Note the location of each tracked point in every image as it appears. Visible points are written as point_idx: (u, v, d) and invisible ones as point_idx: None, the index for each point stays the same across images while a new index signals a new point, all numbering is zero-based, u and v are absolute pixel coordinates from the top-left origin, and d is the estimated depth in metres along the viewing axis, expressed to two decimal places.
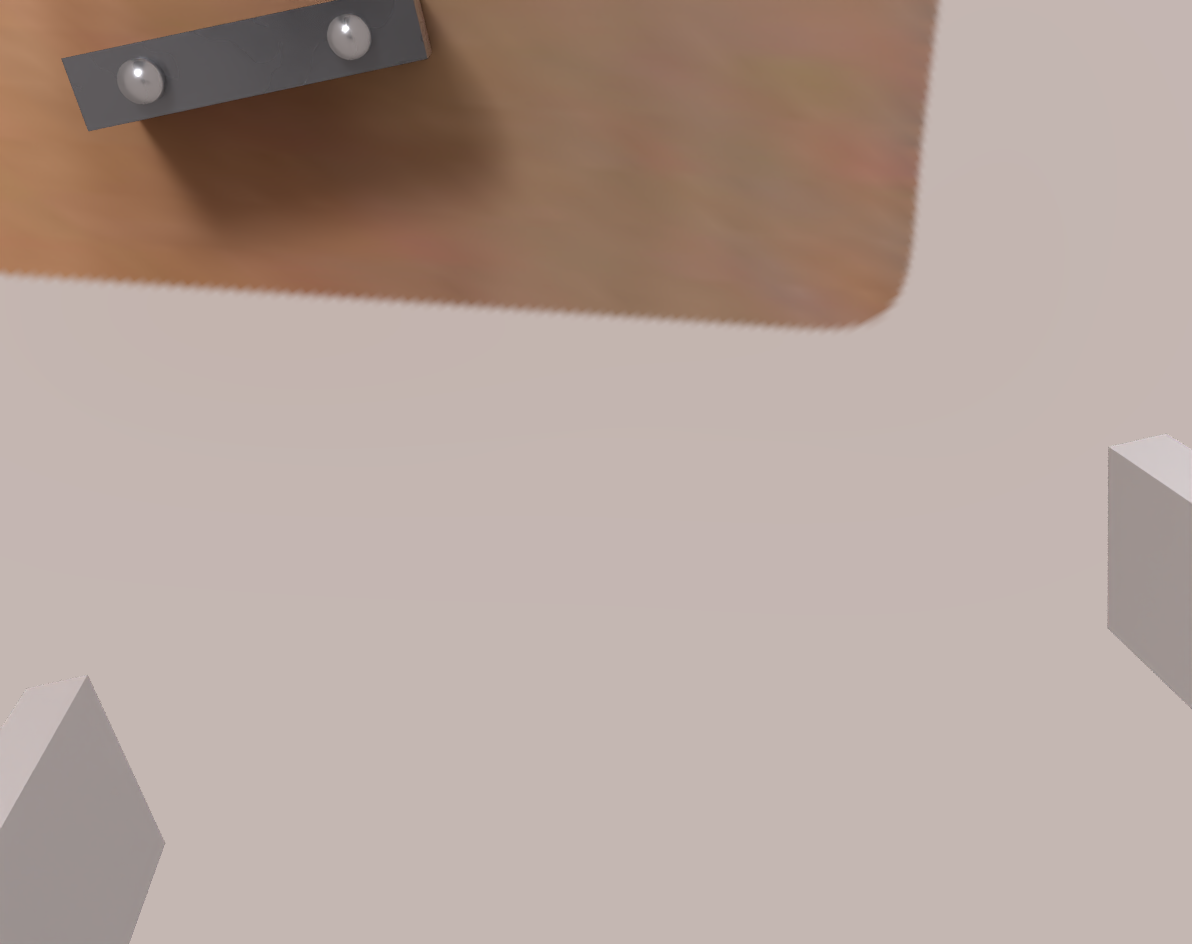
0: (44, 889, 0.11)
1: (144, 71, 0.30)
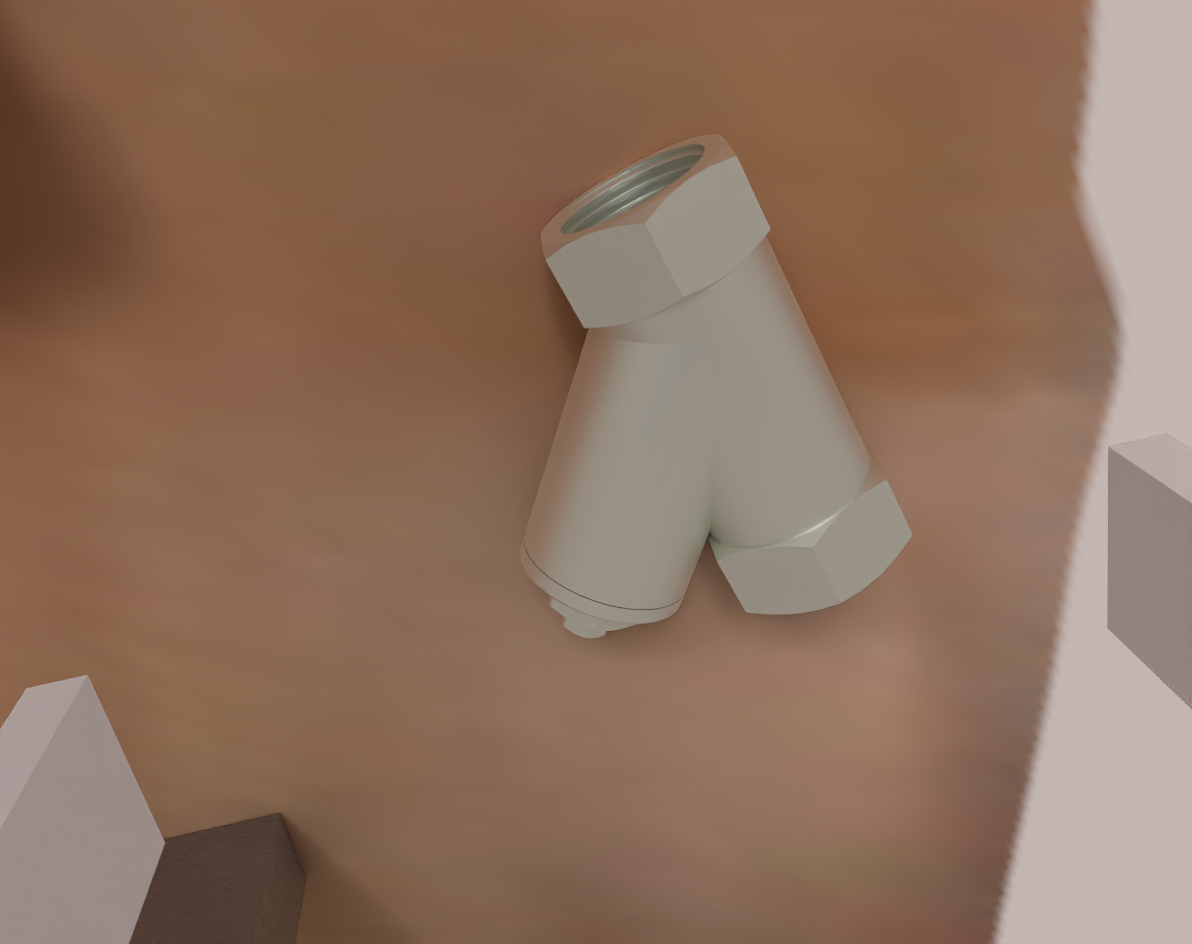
0: (44, 889, 0.11)
1: None
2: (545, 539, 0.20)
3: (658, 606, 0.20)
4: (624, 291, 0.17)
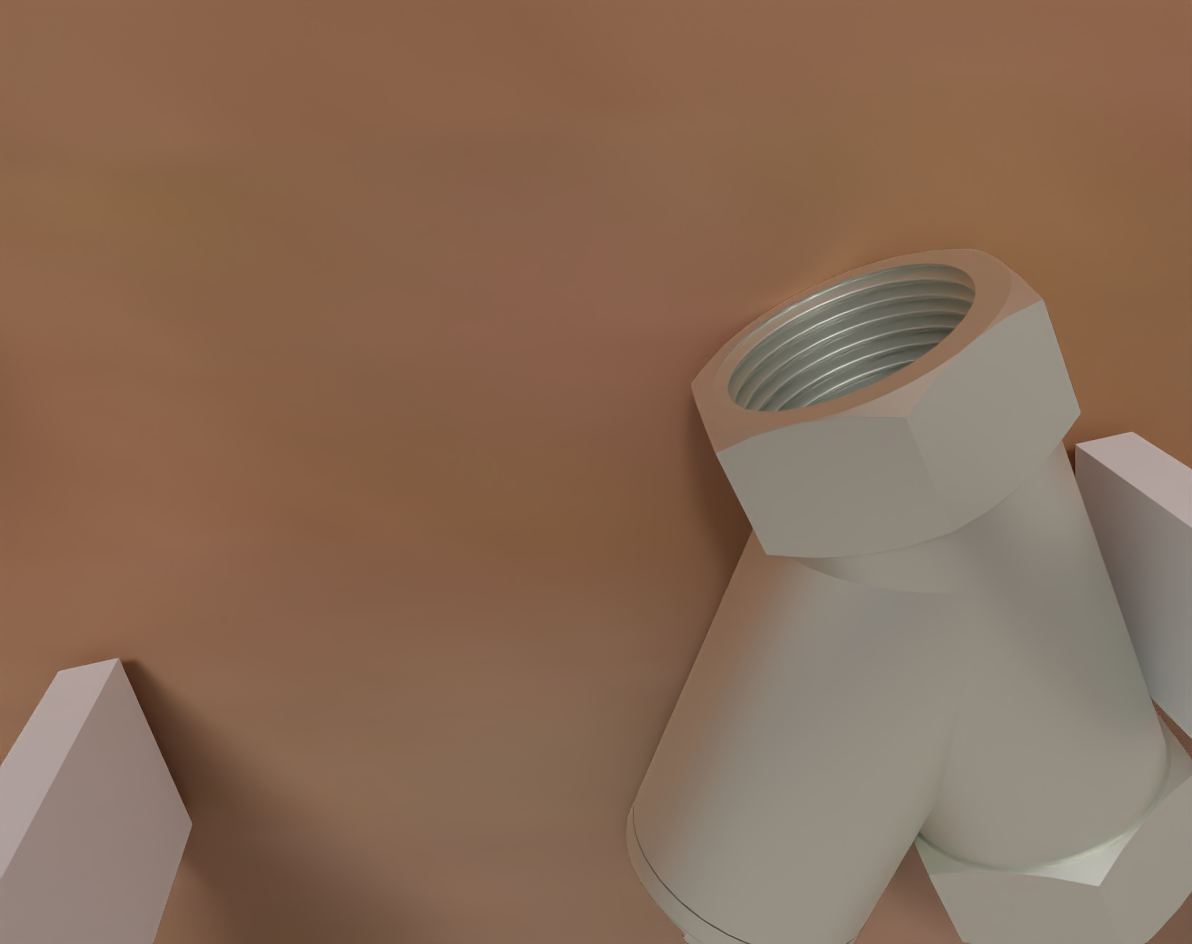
0: (81, 865, 0.11)
1: None
2: (674, 843, 0.13)
3: (839, 940, 0.13)
4: (847, 512, 0.10)
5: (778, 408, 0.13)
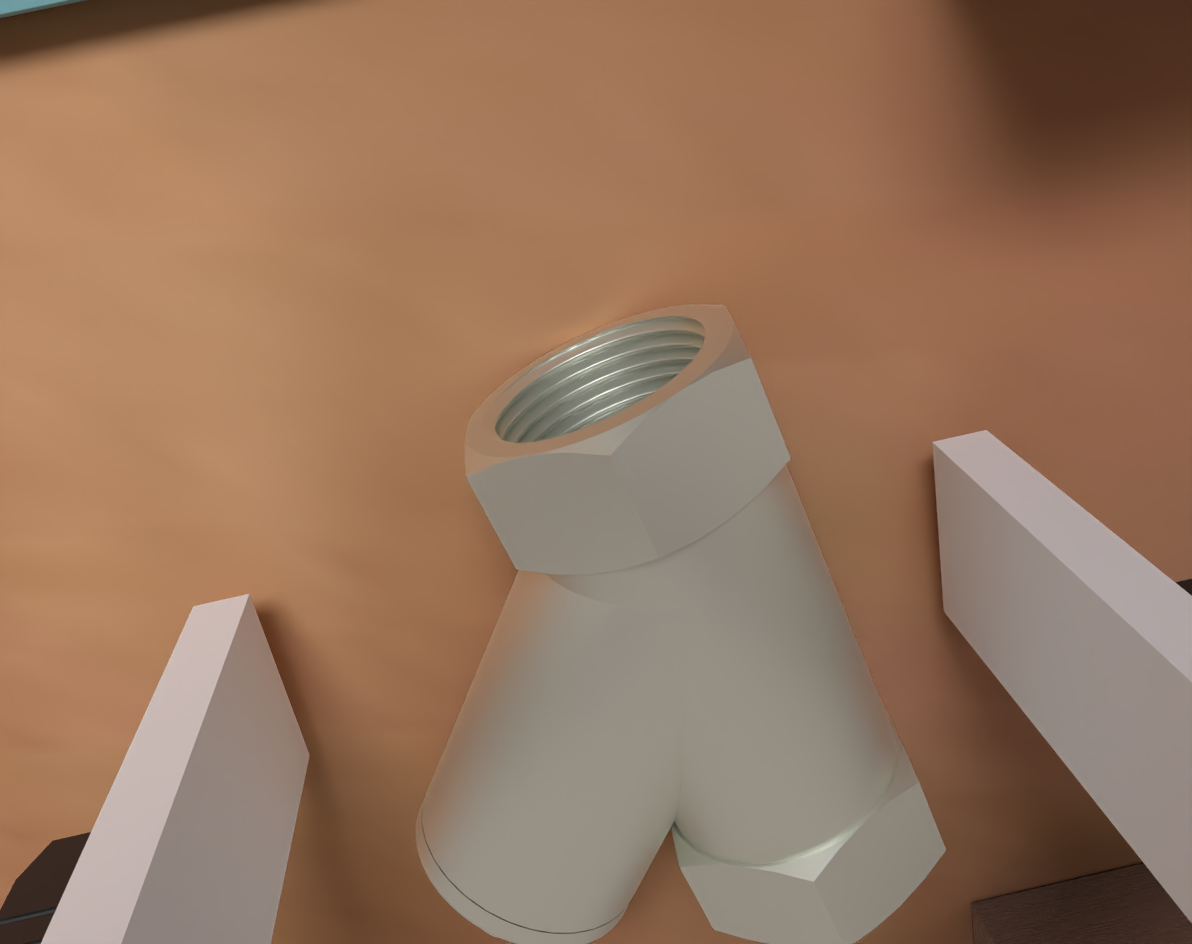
0: (235, 775, 0.12)
1: None
2: (447, 826, 0.14)
3: (596, 922, 0.15)
4: (575, 535, 0.12)
5: None
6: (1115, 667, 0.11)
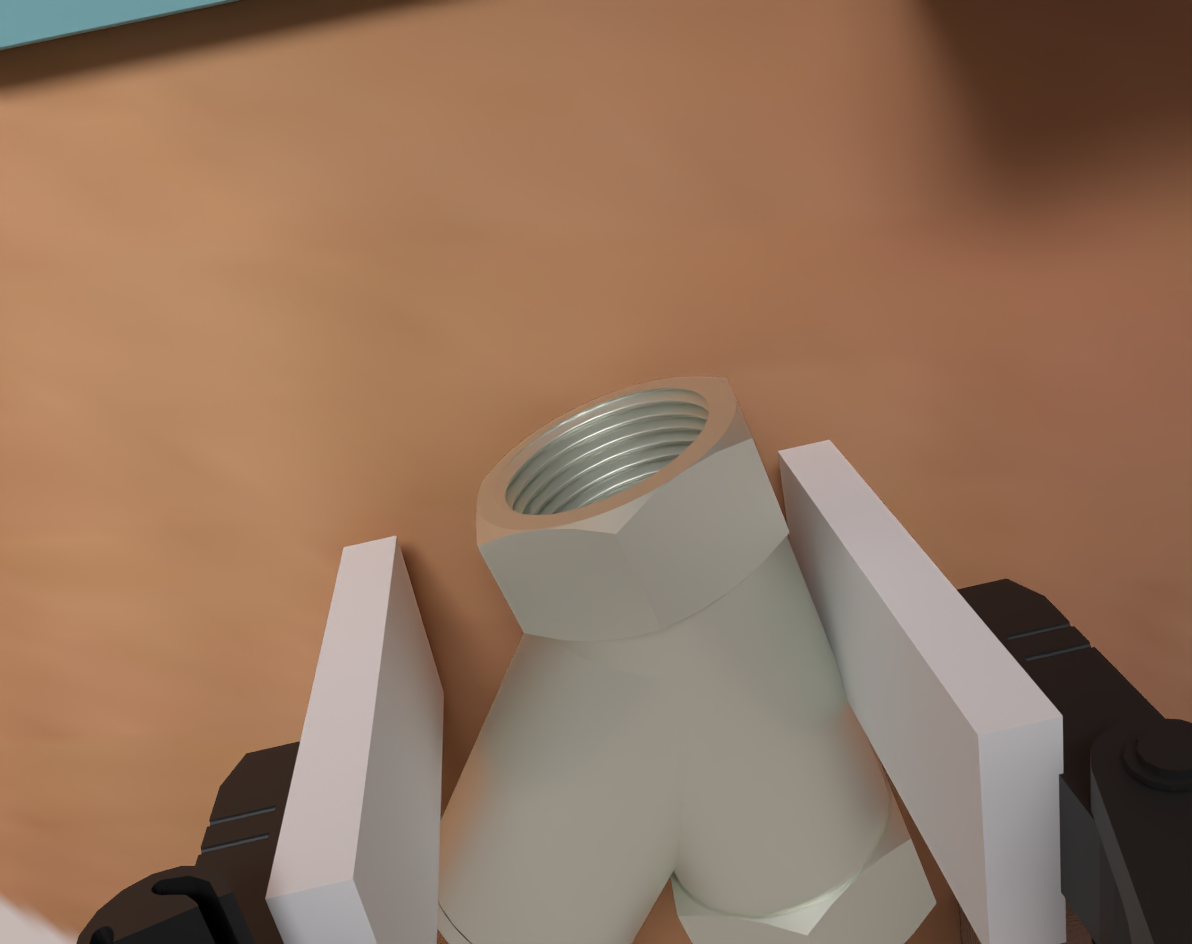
0: (405, 698, 0.13)
1: None
2: (453, 874, 0.15)
3: None
4: (581, 604, 0.12)
5: (564, 500, 0.14)
6: (897, 666, 0.11)
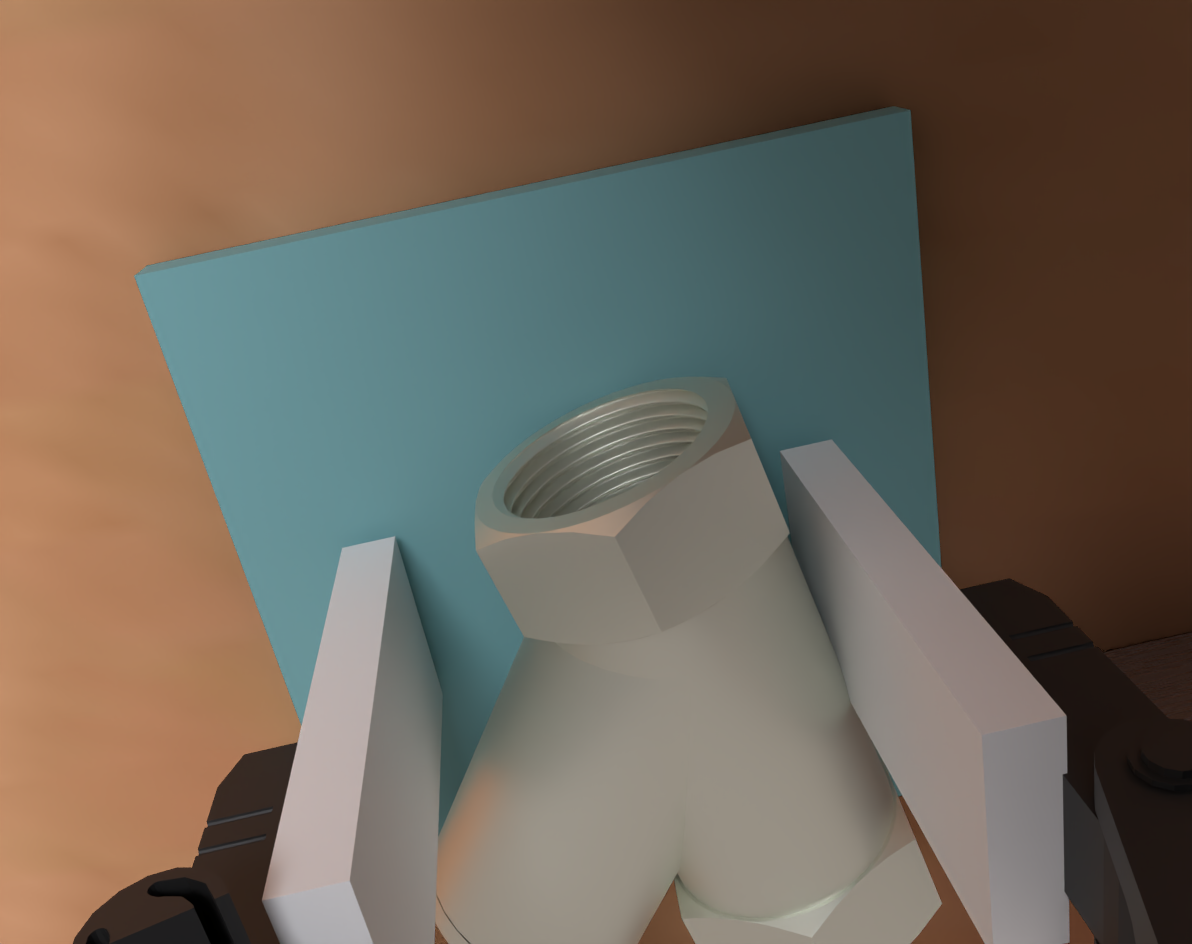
0: (403, 699, 0.13)
1: None
2: (456, 879, 0.15)
3: None
4: (581, 608, 0.12)
5: (564, 503, 0.14)
6: (900, 666, 0.11)
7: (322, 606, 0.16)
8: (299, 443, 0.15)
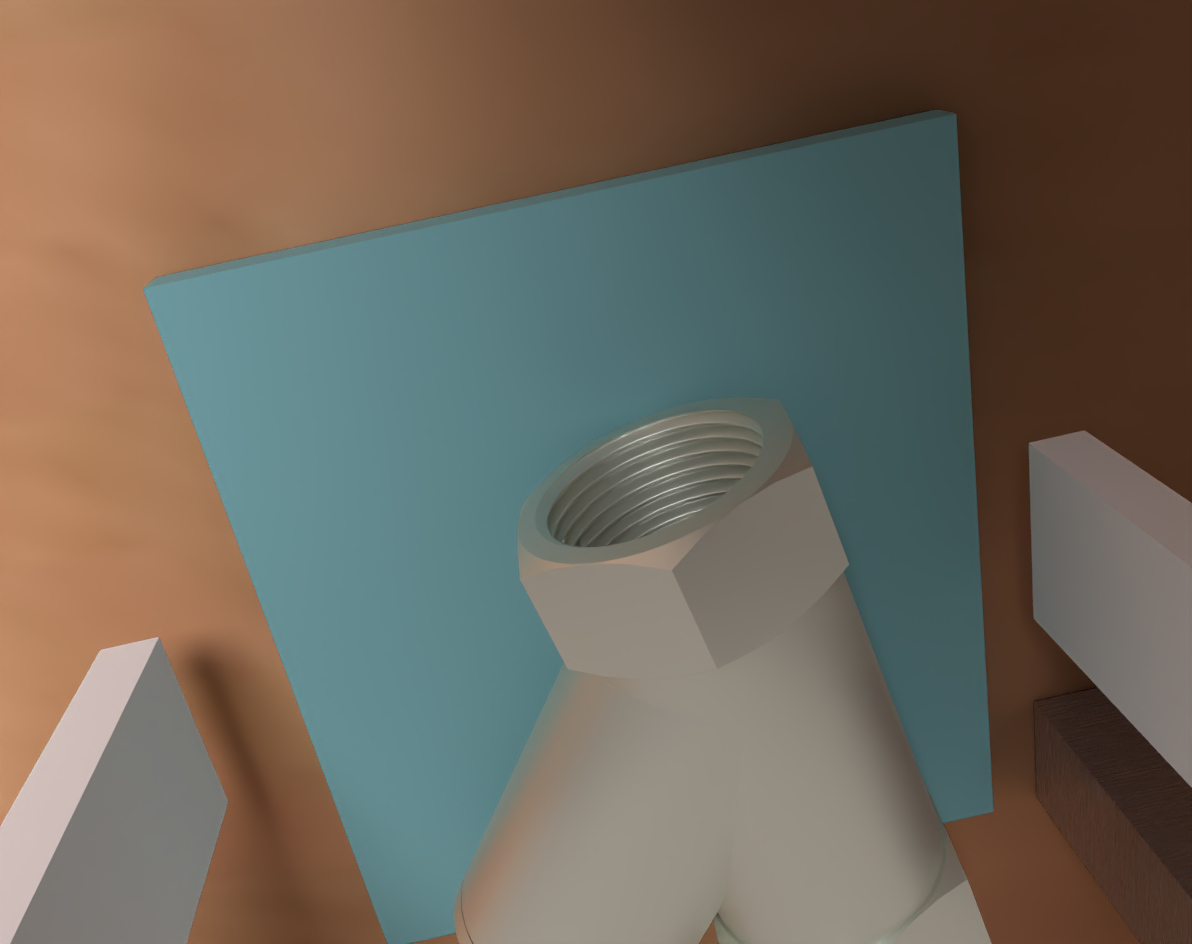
0: (129, 835, 0.12)
1: None
2: (489, 916, 0.14)
3: None
4: (630, 642, 0.12)
5: (605, 526, 0.14)
6: None
7: (337, 630, 0.15)
8: (314, 462, 0.14)
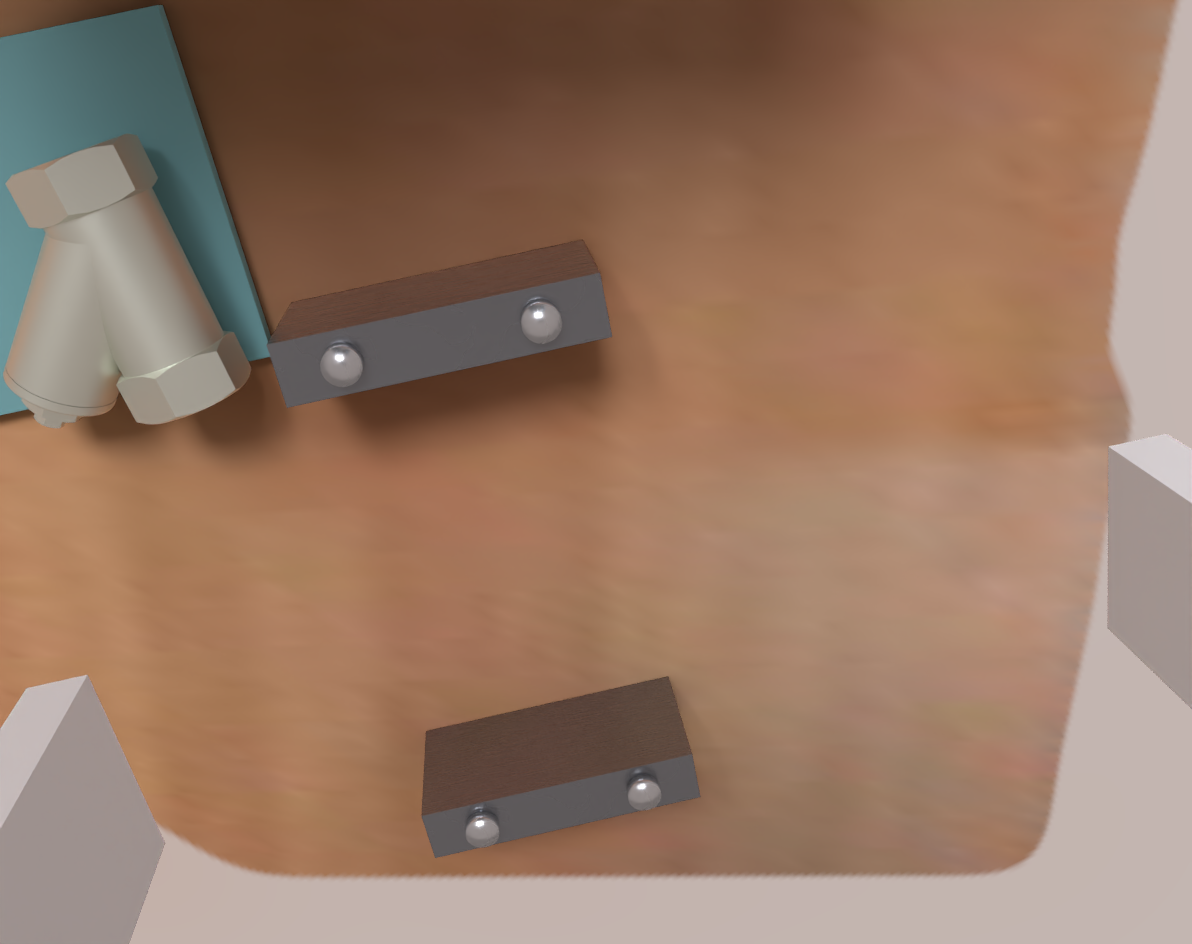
0: (44, 889, 0.11)
1: (487, 828, 0.39)
2: (11, 353, 0.33)
3: (76, 406, 0.33)
4: (42, 207, 0.31)
5: None
6: None
7: None
8: None
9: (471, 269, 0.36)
